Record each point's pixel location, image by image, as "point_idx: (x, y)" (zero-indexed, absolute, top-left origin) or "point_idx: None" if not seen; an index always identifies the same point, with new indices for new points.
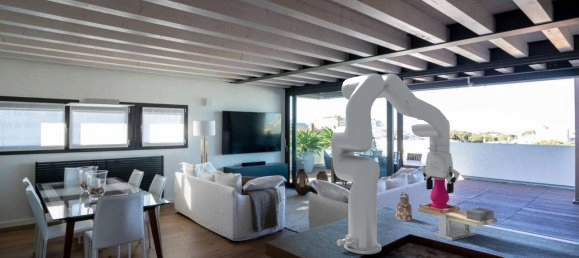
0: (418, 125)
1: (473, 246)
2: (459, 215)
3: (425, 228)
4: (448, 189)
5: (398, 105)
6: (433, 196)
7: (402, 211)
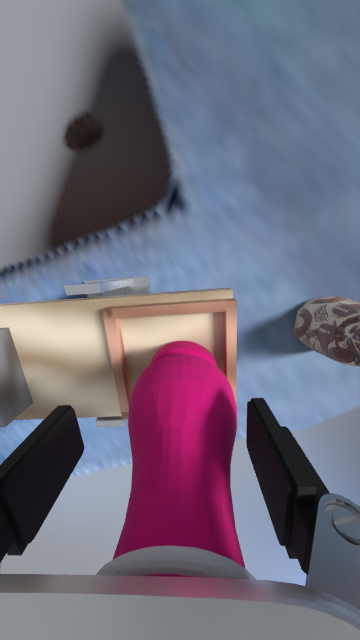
0: None
1: (34, 293)
2: (54, 341)
3: None
4: (39, 431)
5: None
6: (181, 364)
7: (336, 310)
